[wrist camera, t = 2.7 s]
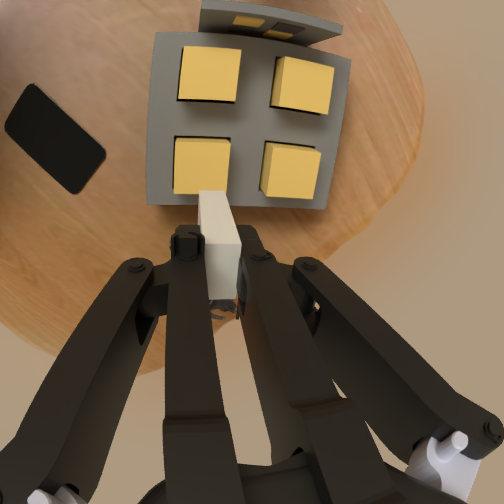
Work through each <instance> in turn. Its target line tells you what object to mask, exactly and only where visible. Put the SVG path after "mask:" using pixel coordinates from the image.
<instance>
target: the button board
mask: <svg viewBox="0 0 504 504" xmlns="http://www.w3.org/2000/svg"><path fill="white" fill-rule="evenodd" d="M184 46H198V47H216V48H229V49H239V50H241V58H240V66H239V74H238V82H237V91H236V99H235V101H230V104H229V103H214V102H188V101H178V100H179V99H178V97H179V86H180V76H181V67H182V59H183V51H184ZM285 56H286V57H291V58H296V59H301V60H305V61H310V62H314V63H318V64H322V65H326V66H330V67H333V68H334V76H333V83H332V90H331V97H330V103H329V110H328V115H327V114H322V113H317V112H311V111H307V113H303V112H297V111H291V110H284V109H277V108H269V103H270V96H271V88H272V80H273V72H274V65H275V60H277V59H280V58H283V57H285ZM350 67H351V59H348V58H344V57H341V56H338V55H334V54H331V53H327V52H324V51H320V50H316V49H312V48H308V47H304V46H299V45H295V44H290V43H285V42H280V41H274V40H268V39H262V38H255V37H248V36H240V35H230V34H218V33H202V32H156V35H155V42H154V50H153V58H152V67H151V77H150V88H149V101H148V118H147V145H146V193H147V205H199V194H174V164H175V142H176V135H181V136H215V137H226V138H227V140H228V141H229V142H230V143H231V146H230V157H229V167H228V178H227V190H226V197H227V200H228V203H229V206H260V207H283V208H303V209H320V210H325V208H326V203H327V199H328V194H329V189H330V184H331V180H332V175H333V170H334V165H335V159H336V154H337V149H338V143H339V138H340V132H341V126H342V121H343V115H344V108H345V102H346V95H347V89H348V82H349V74H350ZM265 140H270V141H279V142H288V143H296V144H302V145H306V146H308V147H310V148H312V149H315V150H317V151H319V152H320V153H321V158H320V163H319V169H318V174H317V179H316V184H315V190H314V195H313V199H303V198H288V197H270V196H266V195H265V194H264V192H263V191H262V189H261V188H260V187H259V181H260V173H261V165H262V158H263V150H264V142H265Z"/></svg>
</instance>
